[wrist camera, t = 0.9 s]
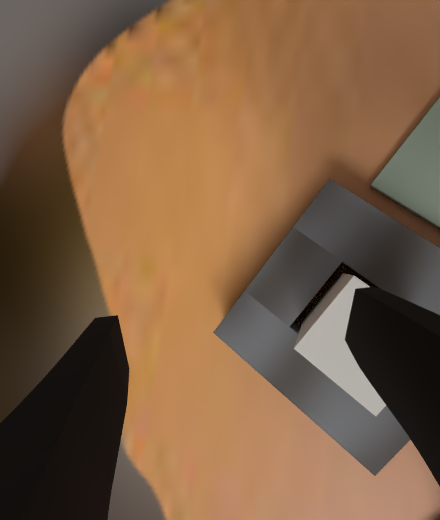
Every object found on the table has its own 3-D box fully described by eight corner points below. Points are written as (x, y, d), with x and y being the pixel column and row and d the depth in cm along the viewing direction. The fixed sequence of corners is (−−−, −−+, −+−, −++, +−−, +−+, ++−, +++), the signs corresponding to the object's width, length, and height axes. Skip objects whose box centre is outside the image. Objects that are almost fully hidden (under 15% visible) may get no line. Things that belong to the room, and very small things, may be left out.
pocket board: (507, 303, 17) (537, 309, 15) (368, 450, 19) (374, 475, 17) (328, 188, 21) (329, 178, 18) (224, 325, 23) (213, 332, 20)
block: (396, 312, 19) (446, 340, 12) (354, 359, 20) (375, 416, 12) (341, 272, 20) (354, 275, 13) (303, 319, 21) (293, 348, 13)
